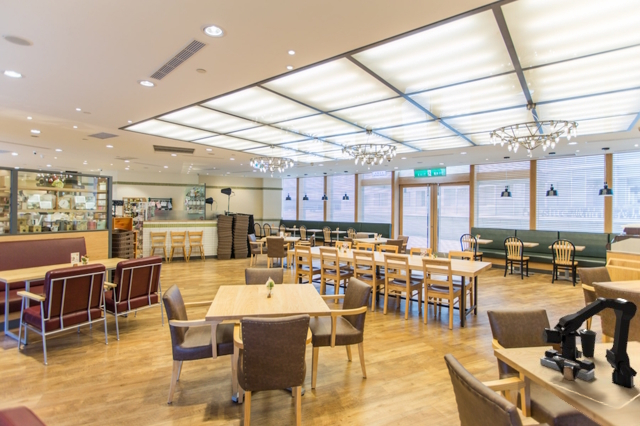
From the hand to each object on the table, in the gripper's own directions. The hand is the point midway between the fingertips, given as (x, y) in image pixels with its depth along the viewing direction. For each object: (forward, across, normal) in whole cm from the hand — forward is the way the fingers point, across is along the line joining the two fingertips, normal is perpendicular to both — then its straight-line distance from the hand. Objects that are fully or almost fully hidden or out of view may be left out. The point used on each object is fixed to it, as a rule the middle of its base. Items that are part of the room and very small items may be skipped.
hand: (569, 377), depth 155 cm
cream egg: (+1, -2, -9) cm, 9 cm away
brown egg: (+1, 0, 0) cm, 1 cm away
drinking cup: (+1, +8, -41) cm, 42 cm away
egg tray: (+1, +5, -9) cm, 10 cm away
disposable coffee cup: (+1, +17, -30) cm, 35 cm away
